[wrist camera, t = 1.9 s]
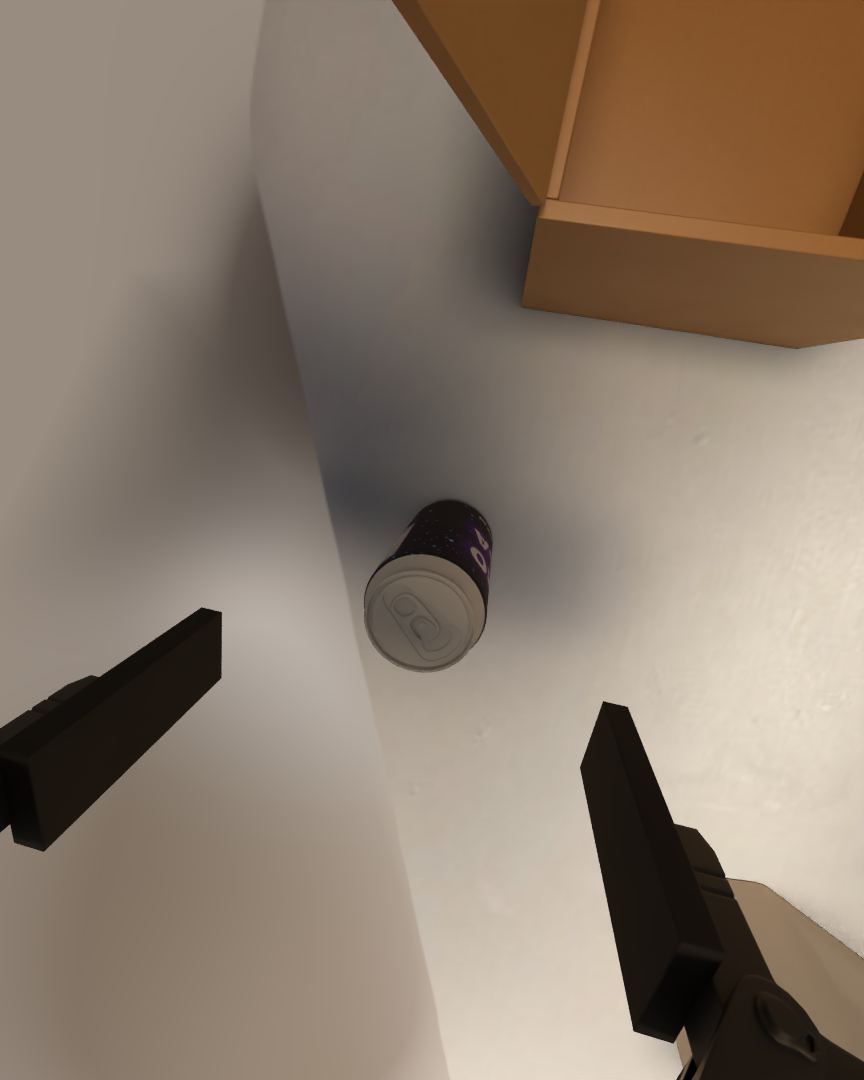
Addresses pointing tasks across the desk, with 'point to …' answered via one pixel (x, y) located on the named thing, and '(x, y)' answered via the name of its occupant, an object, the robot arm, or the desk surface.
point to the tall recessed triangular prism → (804, 967)
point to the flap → (506, 72)
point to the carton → (710, 172)
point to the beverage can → (431, 589)
